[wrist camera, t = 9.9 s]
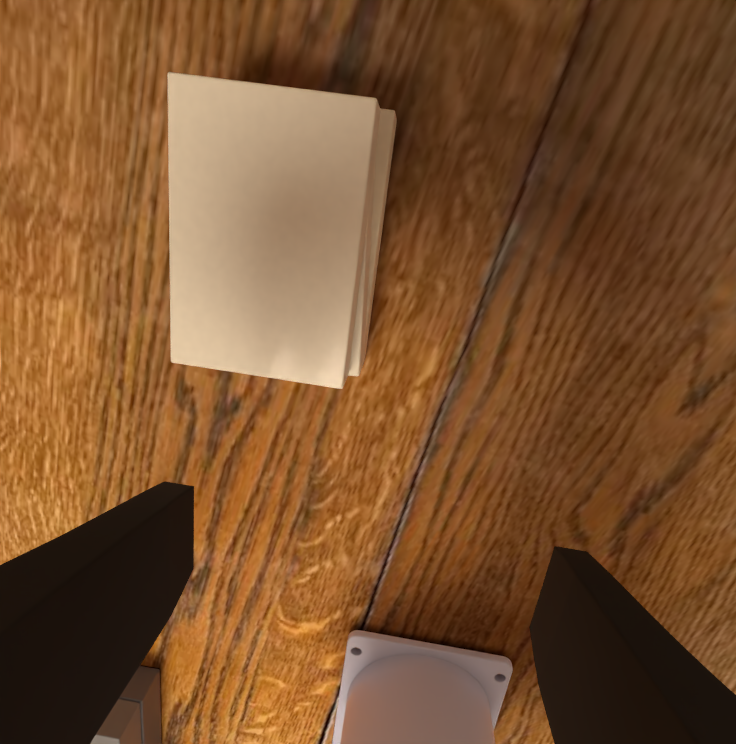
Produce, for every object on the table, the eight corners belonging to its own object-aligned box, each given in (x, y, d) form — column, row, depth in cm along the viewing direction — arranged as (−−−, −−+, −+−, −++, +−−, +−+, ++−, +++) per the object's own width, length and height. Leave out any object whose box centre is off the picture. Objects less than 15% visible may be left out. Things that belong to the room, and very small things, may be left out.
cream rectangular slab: (348, 374, 16) (342, 389, 15) (190, 350, 16) (169, 363, 15) (381, 108, 13) (377, 97, 12) (190, 84, 14) (166, 70, 12)
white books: (366, 361, 19) (357, 388, 16) (211, 337, 19) (176, 360, 16) (398, 118, 16) (395, 99, 13) (216, 95, 16) (174, 71, 13)
